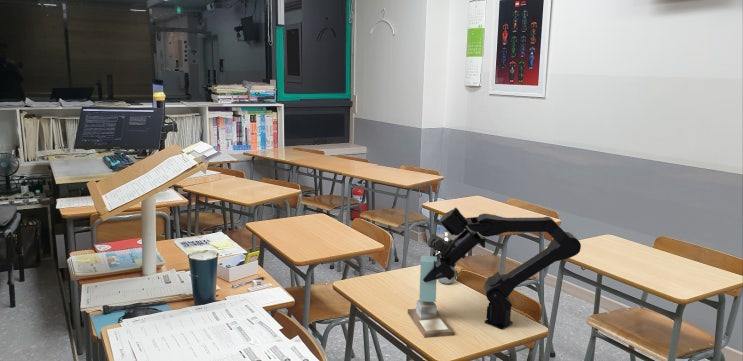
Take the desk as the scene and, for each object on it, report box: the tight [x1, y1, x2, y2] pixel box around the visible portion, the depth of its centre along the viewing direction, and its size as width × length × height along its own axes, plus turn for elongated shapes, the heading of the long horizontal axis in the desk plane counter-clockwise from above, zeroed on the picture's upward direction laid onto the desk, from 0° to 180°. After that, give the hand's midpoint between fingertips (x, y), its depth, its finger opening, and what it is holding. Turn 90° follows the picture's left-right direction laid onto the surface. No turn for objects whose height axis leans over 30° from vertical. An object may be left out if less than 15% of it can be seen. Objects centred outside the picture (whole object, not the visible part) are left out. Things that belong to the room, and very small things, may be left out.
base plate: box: [407, 300, 454, 338], centre depth 163 cm, size 9×17×5 cm, turn 13°
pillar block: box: [419, 255, 438, 303], centre depth 165 cm, size 5×5×13 cm
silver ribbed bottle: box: [437, 229, 456, 285], centre depth 196 cm, size 6×7×20 cm
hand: (423, 277), depth 165 cm, fingers closed on pillar block, 5 cm apart
